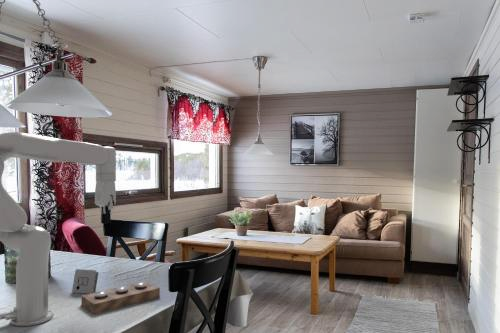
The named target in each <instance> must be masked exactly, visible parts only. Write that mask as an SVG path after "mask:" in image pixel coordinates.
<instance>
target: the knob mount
mask: <svg viewBox="0 0 500 333" xmlns="http://www.w3.org/2000/svg"><path fill="white" fill-rule="evenodd" d="M143 282H146V288H143V289H136V288H135V283H132V284H126V285H125V286H126V287H128V292H126V293H122V294H118V293H116V288H117V287H114V288H109V289H105V290H104V291H107V292H108V296H107V297H106V298H101V299H97V298H95V293H96V292H93V293H91V294H88V293H86V294H83V295H81V297H80V298H81V304H80V305H81V306H82V307H83V308H84V309H87V310H88V311H89V312H91V313H92V314H93V315H96V313H97V314H101V313H104V312H106V311H107V312H108V311H111V310H115V309H119V308H122V307H126V306H130V305H133V304H138V303H141V302H145V301H149V300H153V299H156V298H160V295H161V291H160V289H161V288H160V287H158V286H156V285H155V284H152V283H149V282H148V281H143Z"/></svg>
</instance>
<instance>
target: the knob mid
mask: <svg viewBox="0 0 500 333" xmlns="http://www.w3.org/2000/svg"><path fill="white" fill-rule="evenodd" d="M126 286H127V285H123V286H122V285H120V286H117V287H115V288H116V293H118V294H122V293H126V292H128V287H126Z"/></svg>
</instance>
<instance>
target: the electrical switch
mask: <svg viewBox="0 0 500 333" xmlns="http://www.w3.org/2000/svg"><path fill="white" fill-rule="evenodd" d="M98 279H99V272H98V271H97V270H96V269H84V268H83V269H82V268H77V269H75V273H74V277H73V282H72V288H71V289H72V290H71V291H72V293H78V294H91V293H95V292H97V291H96V290H97V283H98Z"/></svg>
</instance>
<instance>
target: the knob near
mask: <svg viewBox="0 0 500 333" xmlns="http://www.w3.org/2000/svg"><path fill="white" fill-rule="evenodd" d="M94 293H95V298H97V299H101V298H106V297H107V296H108V292H107V291H105V290H99V291H98V290H97V291H95V292H94Z"/></svg>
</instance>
